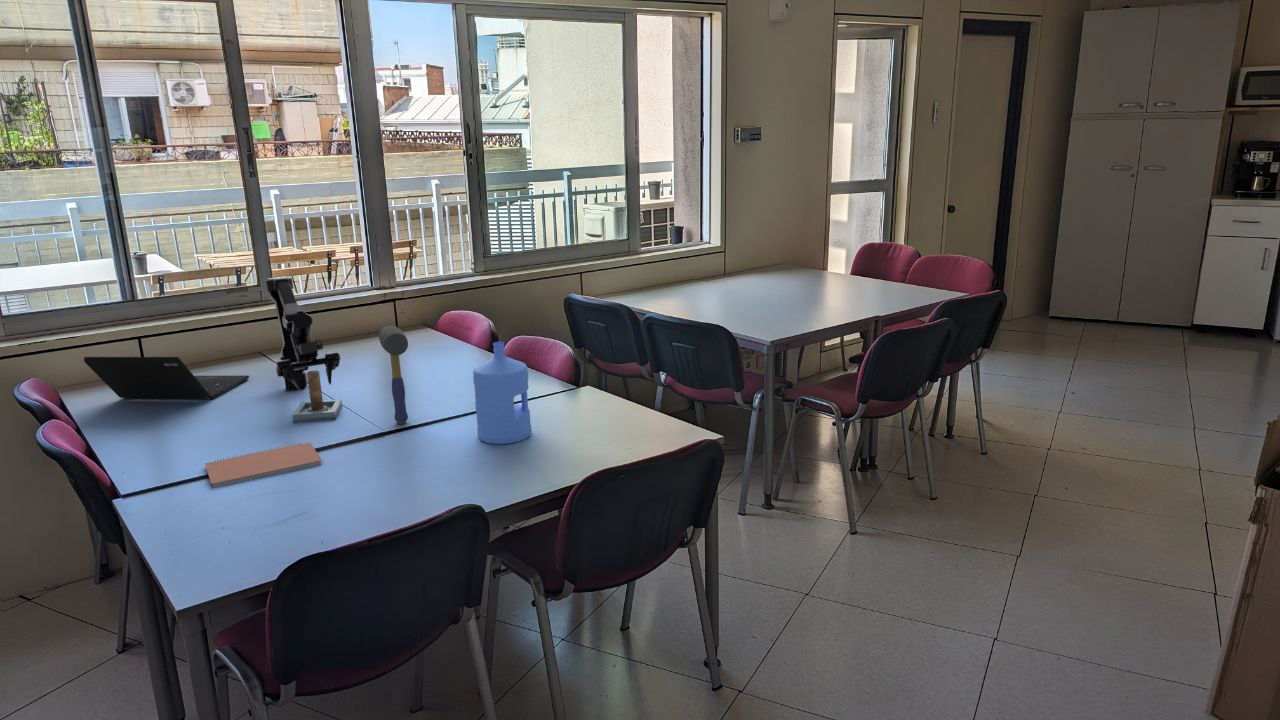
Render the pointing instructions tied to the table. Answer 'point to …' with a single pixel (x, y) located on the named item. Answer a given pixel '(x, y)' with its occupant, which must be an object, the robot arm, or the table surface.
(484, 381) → the water jug
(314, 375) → the wooden post on disc
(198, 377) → the laptop
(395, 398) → the rubber mallet
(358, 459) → the table surface
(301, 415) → the tray
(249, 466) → the notebook
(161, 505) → the table surface
